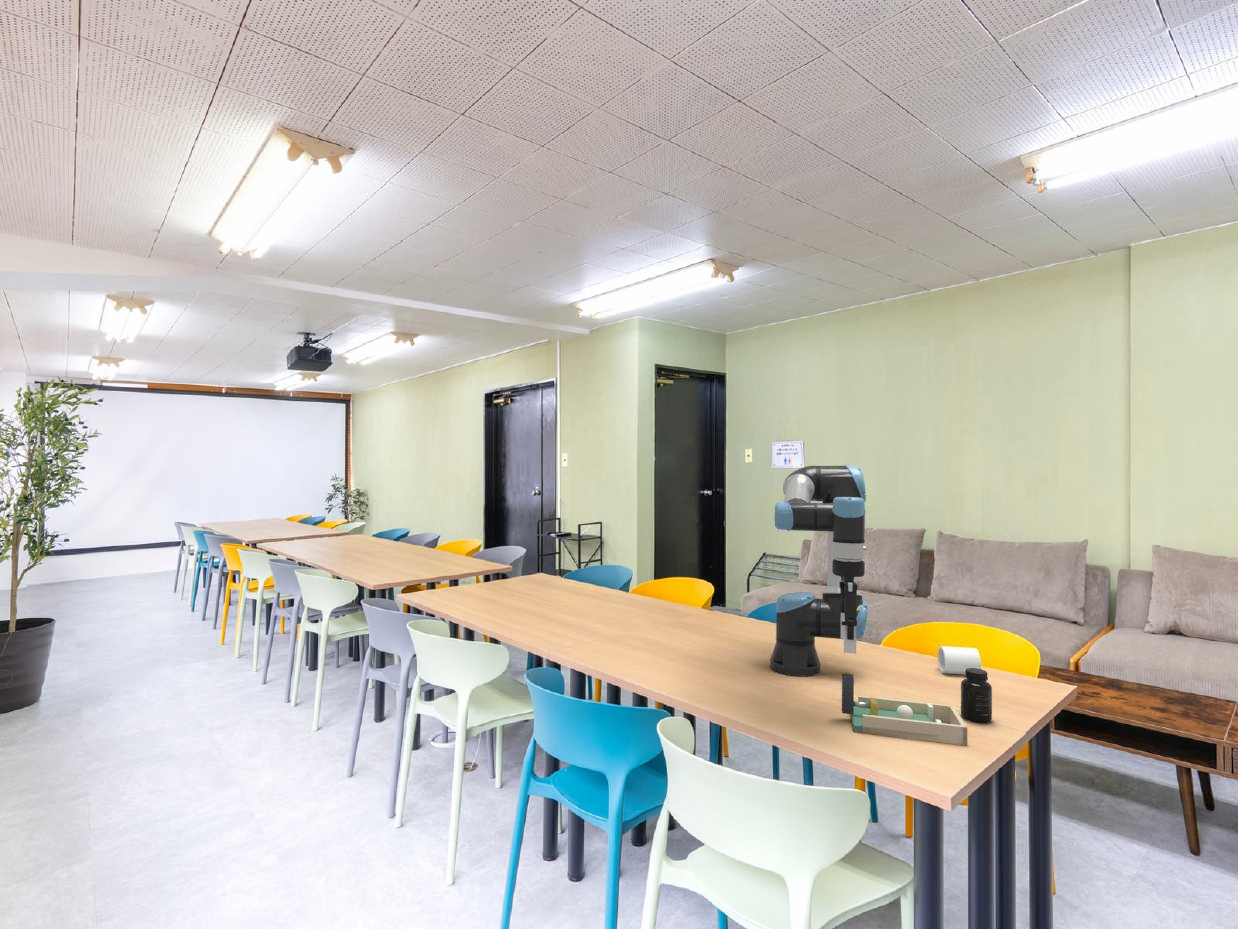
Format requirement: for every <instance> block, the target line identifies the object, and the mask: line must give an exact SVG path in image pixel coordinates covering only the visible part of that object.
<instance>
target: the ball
mask: <svg viewBox="0 0 1238 929" xmlns="http://www.w3.org/2000/svg"><path fill="white" fill-rule="evenodd" d="M897 715H898V717H899V718H900V719H909V720H911V719H912V717H913V712H912V709H911V708H910V707H909V706H906V705H901V706H899V707H898V708H897Z"/></svg>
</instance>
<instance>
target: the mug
mask: <svg viewBox="0 0 1238 929" xmlns="http://www.w3.org/2000/svg"><path fill="white" fill-rule="evenodd" d="M979 652H980V651H979V650H978V649H977V648H976V647H961V646H960V647H958V646H943V645H941V646H939V647H938V650H937V664H938V668H939V671H940V672H941V674H946V675H947V674H949V675H961V676H962V675H963V676H965V671H966V669H967V668H978V669H982V660H981V655H980V653H979Z"/></svg>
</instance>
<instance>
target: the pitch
mask: <svg viewBox="0 0 1238 929" xmlns="http://www.w3.org/2000/svg"><path fill="white" fill-rule="evenodd" d="M869 697H871V698H876V699H877V702H878V716H873V715H870V713H869V708H865V707H855V706H854V715H853V714H850V718H851V723H852V729H853V732H854V733H860V734H868V735H869V734H870V735H878V736H884V737H885V736H886V737H895V738H903V739H910V740H912V739H913V740H918V741H927V742H937V743H944V744H952V745H960V746H968V726H967V724H966V723H965V721H964V720H963V717H962V716H961V714H960V713H959V712H958V710H957V709H956V707H955V706H954V705H953V704H943V703H934V702H933V703H932V702H925V701H916V700H915V701H913V700H906V699H905V700H904V699H897V698H895V699H894V698H886V697H875V696H866V695H857V700H858V701H857V702H866V703H869ZM901 705H906V706H909V707H910V708H911V709H912V712H913V717H912V719H911V720H909V719H900V718H899V717H898V715H897V708H898V707H899V706H901Z"/></svg>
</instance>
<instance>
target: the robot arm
mask: <svg viewBox="0 0 1238 929" xmlns="http://www.w3.org/2000/svg"><path fill="white" fill-rule="evenodd" d="M782 492H783V495H784V499H783V500H784V501H782V502H781V501H779V502H776V503H775V505H774V526H775V529H777V530H784V531H796V532H797V531H802V532H806V531H807V532H809V531H810V532H826V533H827V587H826V588H825V589H824V591H823V592H822V593H821V594H822V598H818V597H817V598H816V595H815V593H813V592H806V591H799V592H798V591H796V592H788V593H785V594H784V593H783V594H782V595H780V596H778V597H777V599H776V608H775V614H776V615H775V616H776V618H775V619H776V623H775V632H776V633H775V644H774V648H773V650H772V654H771V657H770V659H769V664H770V665H769V667H770V669H772V670H773V671H775V672H777V673H780V674H783V675H788V676H795V677H808V676H816V675H819V674H820V673H821V667H822V666H821V660H820V658H819V654H818V651H817V649H816V648H817V647H816V645H815V644H816V643H815V638H824V639H825V638H827V639H837V640H843V653H844V654H855V655H856V654H857V641H859V640H861V639H863V637H864V634H865V631H866V627H867V621H868V620H867V619H868V602H867V601H866V600H863V594H862V593H861V592H860V591H859V590H858V582H857V579H858V578H862V577H864V576H865V575H866V574H865V572H866V569H865V566H866V565H865V564H866V562H865V561H864V559H865V551H868V547H867V546H866V545H865V541H866V540H865V534H866V533H865V528H866V527H865V525H866V506H865V502H866V501H867V492H866V483H865V478H864V474H863V471H862V468H860V467H858V466H855V465H847V464H845V465H808V466H803V467H801V468H798V469H796V470H794V471H792V472H791V473H789V475H788V476H787V477H786V478H785V479H784V482H783V485H782Z"/></svg>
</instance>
